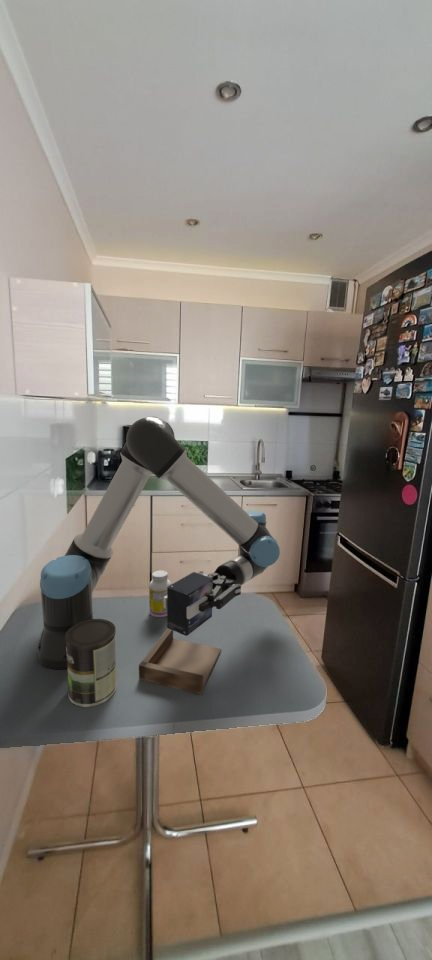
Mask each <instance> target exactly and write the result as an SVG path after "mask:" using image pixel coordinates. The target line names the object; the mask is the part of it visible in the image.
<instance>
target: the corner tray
mask: <svg viewBox="0 0 432 960" xmlns="http://www.w3.org/2000/svg"><path fill="white" fill-rule="evenodd" d="M221 651H222V648H220V647H215V646H210V645H206V644H201V643H196V642H191V641H186V640H181V639H176V638H174V630H171V629H169V628H167V627H166V630H165V631H164V632H163V633H162V635H161V636H160V637H159V638H158V640H157V641H156V642H155V644H154V645H153V646H152V648H151V649H150V650H149V652H148V653H147V654H146V656H145V657H143V659H142V661H141V662H140V663H139V664H138V679H139V680H141V681H145V682H148V683H152V684H157V685H160V686H164V687H169V688H173V689H177V690H180V691H185V692H188V693H193V694H195V695H199V696H200V695H202V692H203V690H204V689H205V685H206V684H207V682H208V680H209V677H210V675H211V673H212V671H213V670H214V669H213V668H214V667H215V664H216V663H217V660H218V658H219V656H220V653H221Z"/></svg>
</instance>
